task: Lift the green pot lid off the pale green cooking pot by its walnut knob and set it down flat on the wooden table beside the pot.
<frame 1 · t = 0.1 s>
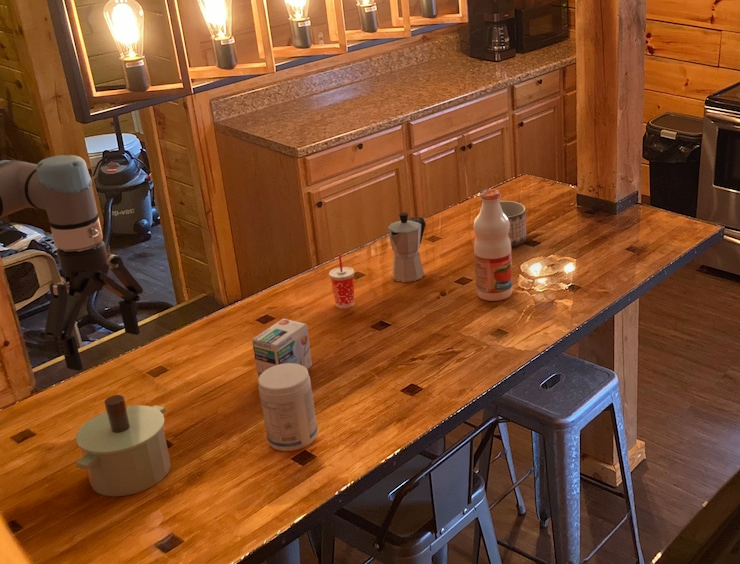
hand: (104, 350, 174), 23 cm above the table, tool pointing down, fingers open, 13 cm apart
beverage cup: (345, 304, 240), on the table
green pot lid: (121, 430, 173), point 9 cm above the table, touching pale green cooking pot
planter: (504, 242, 276), on the table
fruit juice: (494, 294, 246), on the table
coffee maker: (411, 274, 256), on the table
pale green cooking pot: (131, 472, 177), on the table
supplement tub: (293, 439, 187), on the table
light bulb box: (286, 374, 209), on the table
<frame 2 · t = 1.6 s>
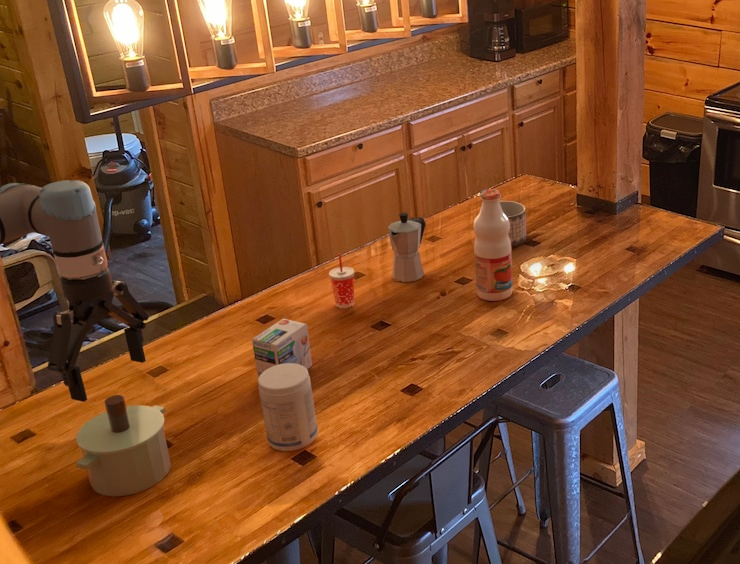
hand: (110, 379, 169), 20 cm above the table, tool pointing down, fingers open, 13 cm apart
nothing on the table moved.
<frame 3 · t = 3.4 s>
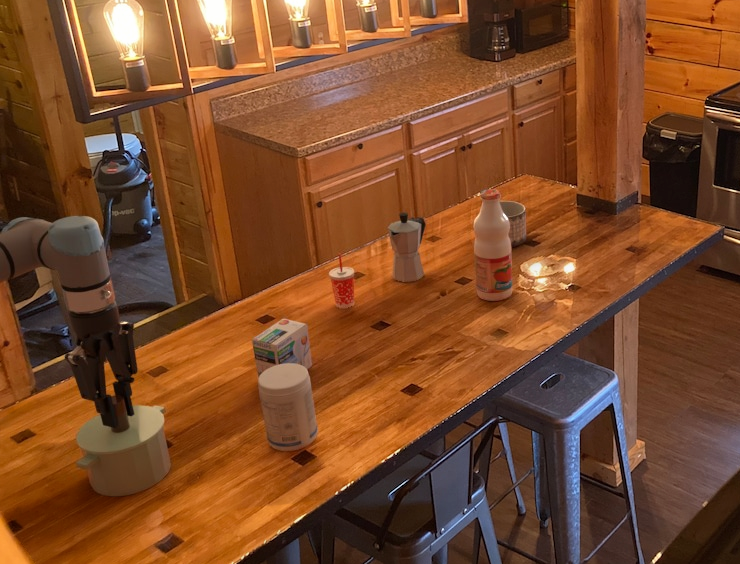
hand: (118, 419, 172), 12 cm above the table, tool pointing down, fingers closed on green pot lid, 3 cm apart
green pot lid: (121, 430, 173), point 10 cm above the table, touching pale green cooking pot, gripper
everything else where it was.
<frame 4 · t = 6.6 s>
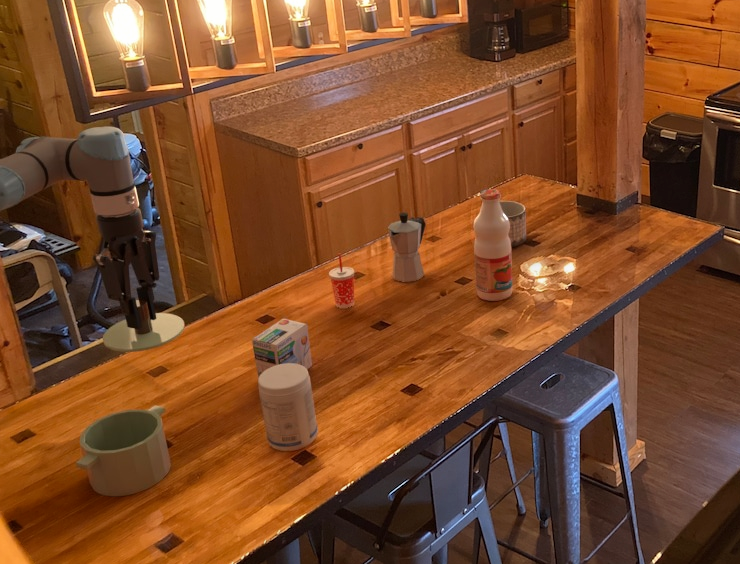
hand: (142, 322, 185), 22 cm above the table, tool pointing down, fingers closed on green pot lid, 3 cm apart
green pot lid: (144, 333, 186), point 20 cm above the table, touching gripper
everything else where it was.
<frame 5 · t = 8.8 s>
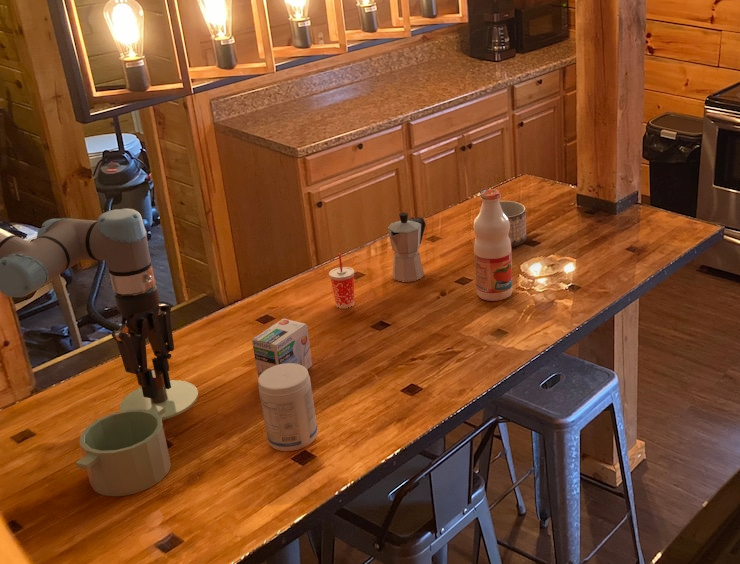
hand: (157, 391, 192), 6 cm above the table, tool pointing down, fingers closed on green pot lid, 3 cm apart
green pot lid: (159, 401, 193), point 3 cm above the table, touching gripper
everything else where it was.
when the fingers open (3 cm above the table, at t = 9.9 s): green pot lid stays where it is, point 1 cm above the table.
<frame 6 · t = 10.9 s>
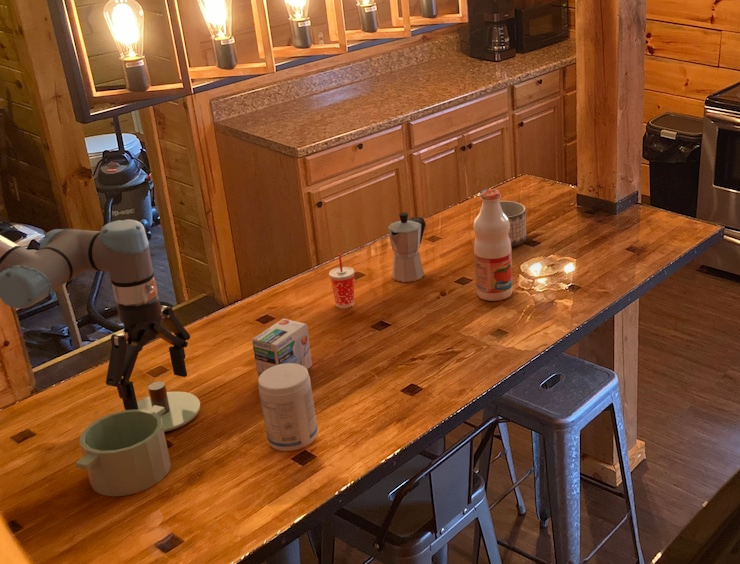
hand: (157, 392, 192), 6 cm above the table, tool pointing down, fingers open, 13 cm apart
green pot lid: (162, 413, 194), point 1 cm above the table
everything else where it was.
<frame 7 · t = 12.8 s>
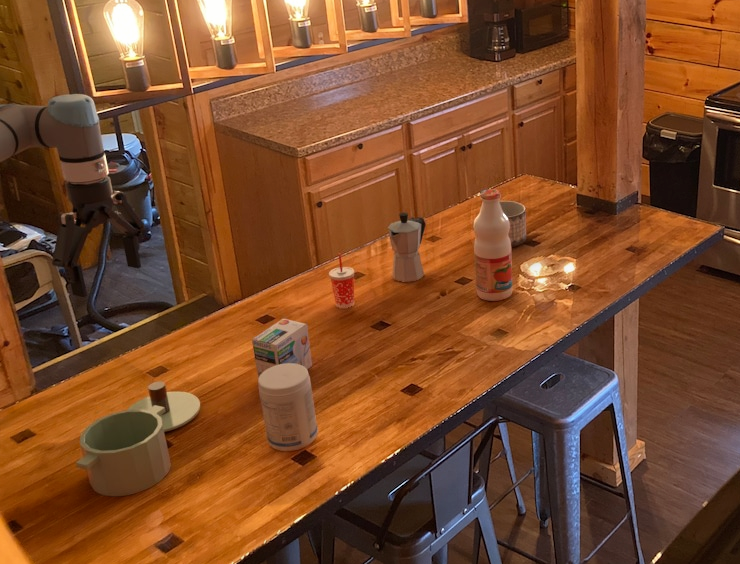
hand: (108, 280, 185), 29 cm above the table, tool pointing down, fingers open, 13 cm apart
nothing on the table moved.
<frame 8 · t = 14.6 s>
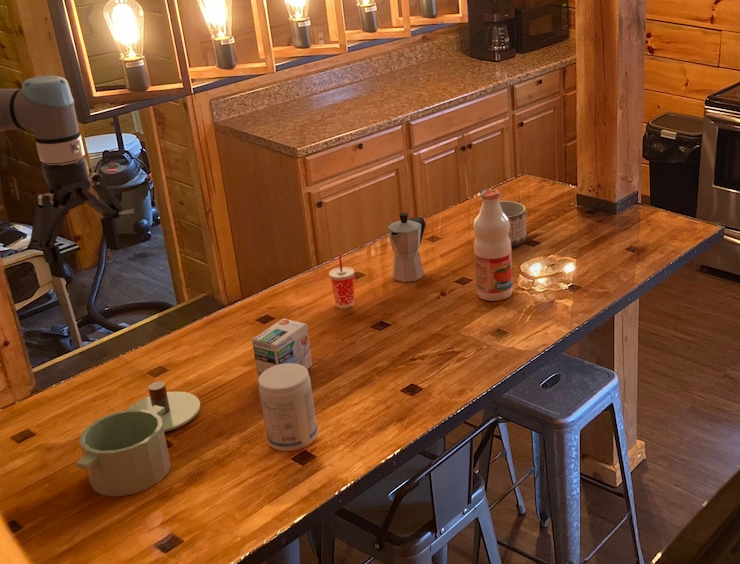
hand: (87, 262, 187), 32 cm above the table, tool pointing down, fingers open, 13 cm apart
nothing on the table moved.
at the end: green pot lid inside the target area (0.1 cm from its centre), point 0.6 cm above the table; green pot lid tilted 0° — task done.
